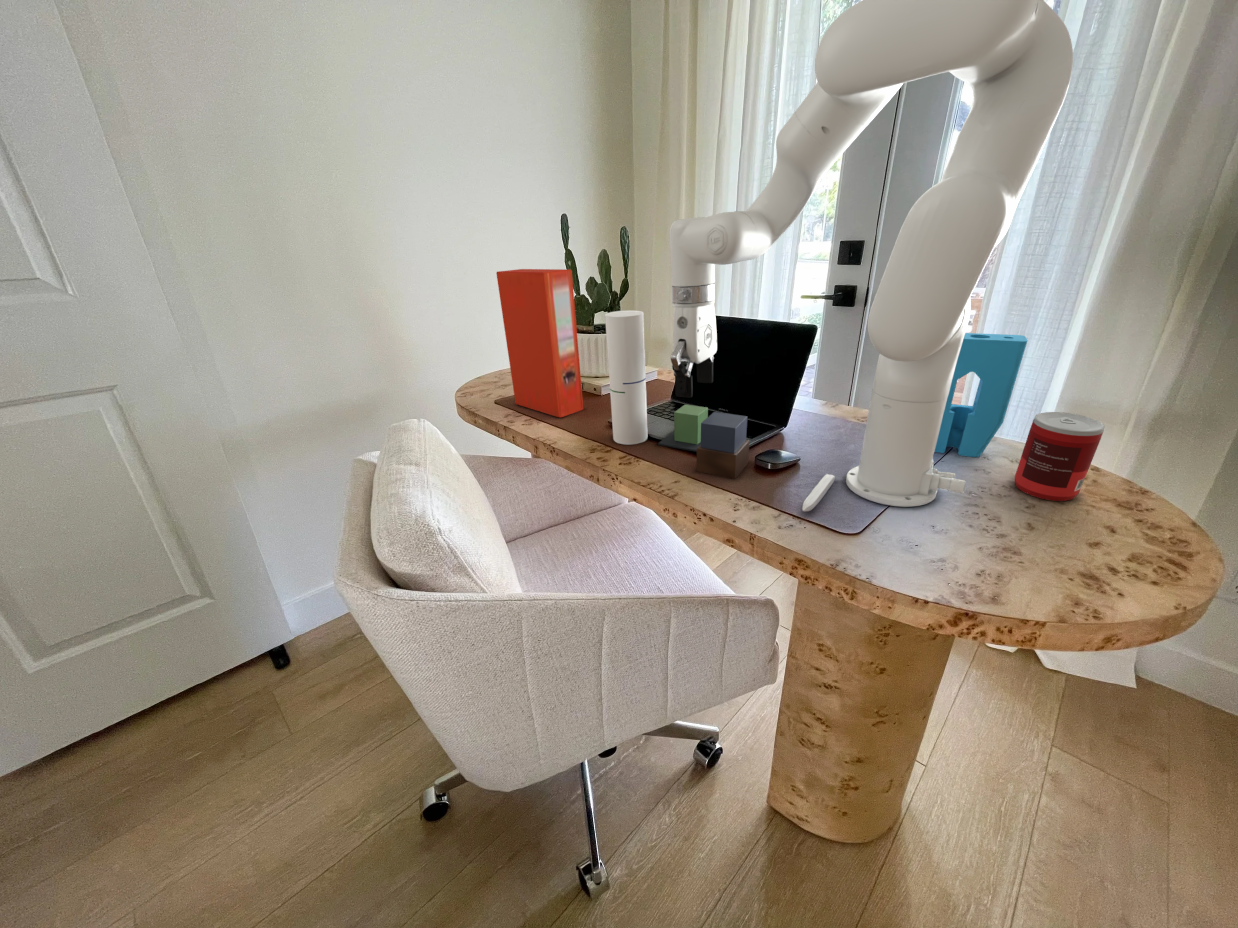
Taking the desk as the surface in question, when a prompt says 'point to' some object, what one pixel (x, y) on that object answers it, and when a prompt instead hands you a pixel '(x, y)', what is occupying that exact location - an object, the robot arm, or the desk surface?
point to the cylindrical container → (627, 375)
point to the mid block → (723, 432)
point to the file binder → (542, 339)
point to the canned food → (1057, 455)
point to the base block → (723, 461)
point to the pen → (818, 492)
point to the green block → (689, 423)
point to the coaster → (678, 443)
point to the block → (981, 391)
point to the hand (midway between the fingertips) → (694, 389)
